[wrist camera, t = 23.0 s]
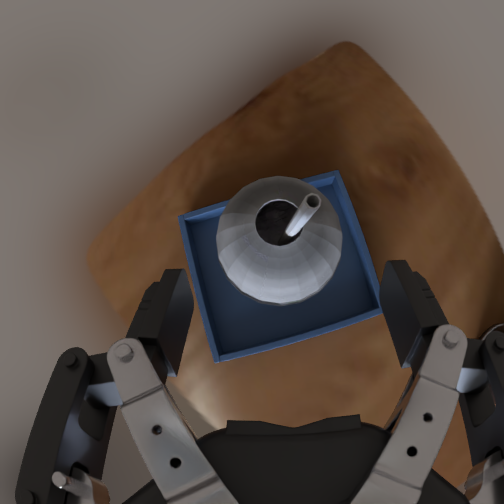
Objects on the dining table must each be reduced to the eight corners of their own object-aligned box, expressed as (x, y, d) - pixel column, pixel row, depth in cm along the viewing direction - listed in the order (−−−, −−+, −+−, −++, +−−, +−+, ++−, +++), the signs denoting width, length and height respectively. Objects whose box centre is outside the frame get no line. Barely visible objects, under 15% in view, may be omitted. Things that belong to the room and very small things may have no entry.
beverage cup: (270, 215, 29) (251, 62, 9) (332, 258, 28) (428, 161, 8) (226, 276, 28) (118, 213, 9) (288, 321, 27) (311, 358, 7)
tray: (334, 179, 30) (338, 169, 27) (378, 311, 27) (386, 311, 24) (185, 222, 30) (177, 215, 28) (219, 358, 27) (214, 363, 25)
